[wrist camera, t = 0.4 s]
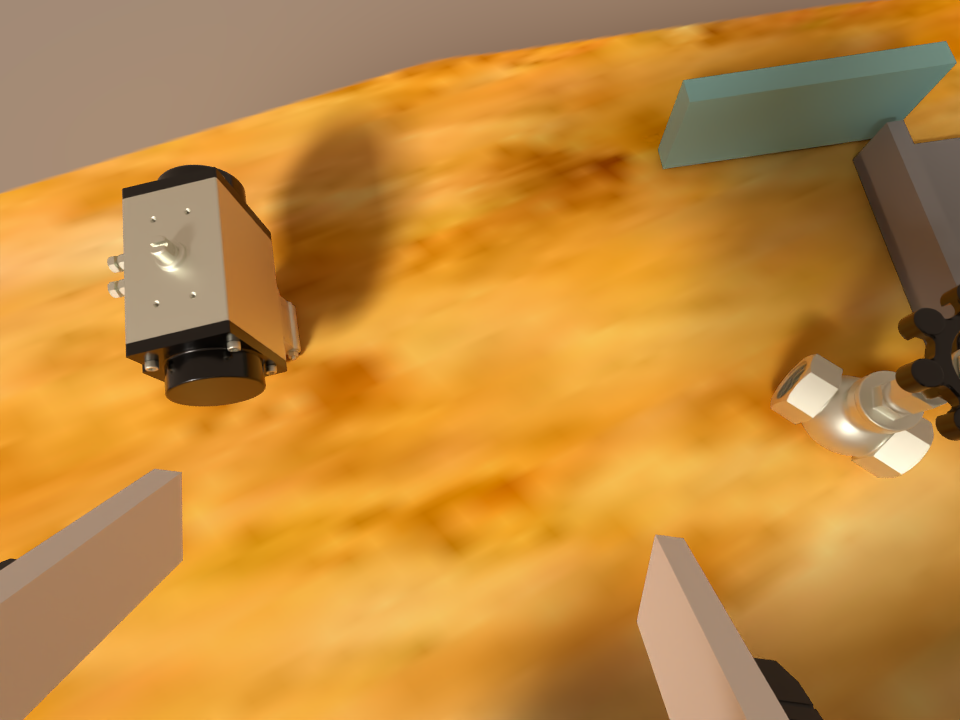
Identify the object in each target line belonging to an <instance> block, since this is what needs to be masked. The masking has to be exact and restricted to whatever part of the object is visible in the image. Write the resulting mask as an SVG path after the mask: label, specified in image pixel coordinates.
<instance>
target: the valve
mask: <svg viewBox="0 0 960 720" xmlns="http://www.w3.org/2000/svg"><path fill="white" fill-rule="evenodd" d="M940 305H941V306H942V307H943V306H947V305H952V306H953V307H954V310H955V314H954V315H953V316H952V317H950V318H948V319H945V318H944V317H943V315H942V314H941V313H940V312H938V311H937V310H935V309H932V308H921V309H919V310H917V311H915V312H913V313H911V314H910V315H908V316H906V317H904V318H902V319H901V320H900V322H899V324H898V330H899V333H900V334H901V336H902V337H903V338H904V339H906V340H910V339H912V338H914V337H917V338H920V339H923V340H925V341H926V342H927V344H926V349H925V359H918V360H916V361H913V362H911V363H909V364H906V365H904V366H902V367H900V368H899V369H898V370H897V371H896V372H892V371H878V372H874V373H871V374H869V375H867V376H865V377H862V378H858V377H854V376H847V375H842V372H843V369H841V368H840V367H838V366H836V365H835V364H833V363H831V362H830V361H828V360H827V359H825V358H823V357H822V356H820V355H818V354H813V355H810V356H807V357H805V358H804V359H803V360H801V361H800V362H799V363H798V364H797V365H796V366H795V367H794V368H793V369H792V370H791V371H790V372H789V373H788V374H787V375H786V376H785V378H784V379H783V380H782V382H781V383H780V384H779V386H778V387H777V389H776V391H775V392H774V394H773V396H772V399H771V409H772V410H774V411H775V412H777V413H778V414H780V415H781V416H783V417H784V418H786V419H788V420H789V421H791V422H792V423H794V424H798V423H801V422H802V424H803V426H804V428H805V430H806V431H807V433H808V434H809V435H810V436H811V438H812V439H813V440H815V441H816V442H817V443H818V444H820V445H821V446H823V447H825V448H826V449H828V450H830V451H833V452H835V453H838V454H842V455H848V456H852V460H851V461H853V462H854V463H856V464H857V465H859V466H861V467H862V468H864V469H865V470H867V471H868V472H870V473H871V474H873V475H875V476H876V477H878V478H894V477H898V476H900V475H902V474H904V473H905V472H907V471H909V470H910V469H911V468H913V467H914V466H915V465H916V464H917V463H918V462H919V461H920V460H921V459H922V458H923V457H924V455H925V454H926V453H927V451H928V450H929V448H930V446H931V444H932V441H933V436H934V434H933V427H932V424H931V422H929V421H928V420H926V419H924V418H923V417H922V416H923V414H924V411H926V410H929V409H933V408H935V407H938V406H940V405H943V404H945V403H947V402H948V403H949V404H950V405H951V406H952V408H951V410H950V411H948V412H947V414H944V415H941V416H937V418H936V427H937V430H938V431H939V433H940V434H941V435H942V436H944V437H945V438H947V439H949V440H954V441H958V440H960V285H958V286H956V287H954V288H952V289H950V290H949V291H947V292H945V293H944V294H943V295H942V296H941V298H940Z"/></svg>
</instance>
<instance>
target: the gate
mask: <svg viewBox="0 0 960 720" xmlns="http://www.w3.org/2000/svg"><path fill="white" fill-rule="evenodd" d="M956 63H957V62H956V60H955V58H954V56H953V54H952V52H951V50H950V48H949V46H948V44H947V42H946V41H944V42H937V43H930V44H923V45H917V46H910V47H903V48H897V49H890V50H883V51H877V52H870V53H863V54H856V55H850V56H843V57H836V58H830V59H823V60H816V61H810V62H803V63H796V64H789V65H783V66H776V67H769V68H763V69H756V70H749V71H742V72H736V73H729V74H722V75H716V76H709V77H702V78H696V79H689V80H683V83H682V85H681V88H680V91H679V94H678V96H677V99H676V102H675V104H674V107H673V110H672V113H671V115H670V118H669V121H668V123H667V126H666V129H665V132H664V134H663V137H662V140H661V143H660V145H659V148H658V152H659V155H660V159H661V163H662V167H663V169H666V168H673V167H680V166H687V165H694V164H701V163H708V162H715V161H722V160H729V159H736V158H743V157H749V156H756V155H763V154H770V153H777V152H784V151H791V150H798V149H805V148H812V147H819V146H826V145H833V144H840V143H846V142H853V141H860V140H867V139H872V138H873V137H874V136H875V135H876V134H877V133H878V131H879V130H880V129H881V128H882V127H883V126H884V125H885V124H886V123H887V122H893V121H900V120H903V119H904V118H905V117H906V116H907V115H908V114H909V113H910V112H911V111H912V110H913V109H914V108H915V107H916V106H917V105H918V103H919V102H920V101H921V100H922V99H923V98H924V97H925V96H926V95H927V94H928V93H929V92H930V91H931V90H932V89H933V88H934V87H935V85H936V84H937V83H938V82H939V81H940V80H941V79H942V78H943V77H944V76H945V75H946V74H947V73H948V72H949V71H950V70H951V68H952V67H953V66H954V65H955V64H956Z"/></svg>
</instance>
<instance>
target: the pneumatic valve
mask: <svg viewBox="0 0 960 720" xmlns="http://www.w3.org/2000/svg"><path fill="white" fill-rule="evenodd" d="M122 199H123V243H124V254H121V255H119V256H113V257H109V258H108V261H107V262H108V266H109V268H110V270H111V271H112V272H114V273H118V272H123V271H124V279H122V280H119V281H114V282H110V283H109V284H108V291H109V293H110V294H111V296H112V297H114V298H119V297H123V296H125V332H126V357H127V358H129V359H131V360H133V361H136V362H138V363H140V364H142V367H143V373H144V374H146V375H149V376H151V377H154V378H156V379H159V380H161V381H164V382H165V395H166V397H167V398H168V399H169V400H170V401H172V402H175V403H178V404H182V405H189V406H219V405H227V404H233V403H238V402H242V401H245V400H248V399H251V398H254V397H256V396H258V395H259V394H261V393H262V392H263V391H264V390H265V387H266V384H265V376H269V375H274V374H278V373H282V372H286V371H287V366H286V355H288V358H290V359H291V360H296V358H298V353H300V352H301V347H300V339H299V332H298V324H297V316H296V309H295V306H294V305H292V302H289V301H286V300H285V299H284V298H283V297H281V296H280V292H279V290H278V287H277V283H276V274H275V266H274V258H273V249H272V241H271V233H270V231H269V230H268V229H267V228H266V226H265V225H264V224H263V223H262V222H261V221H260V219H259V218H258V217H257V216H256V215H255V213H254V212H253V211H252V210H251V209H250V207H249V206H248V205H247V204H246V196H245V190H244V188H243V186H242V184H241V183H240V182H239V181H238V180H237V179H236V178H235V177H234V176H232V175H231V174H229V173H227V172H225V171H223V170H220V169H217V168H215V167H210V166H204V165H184V166H179V167H175V168H172V169H170V170H168V171H166V172H165V173H163V174H162V175H161V176H160V177H159V179H158V180H157V181H153V182H149V183H144V184H140V185H136V186H132V187H127V188H123V189H122Z"/></svg>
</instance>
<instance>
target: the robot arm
mask: <svg viewBox="0 0 960 720" xmlns="http://www.w3.org/2000/svg"><path fill="white" fill-rule="evenodd" d="M182 560H183V549H182V472H175V471H167V470H159V469H154V470H152V471H150V472H149V473H147V474H146V475H144V476H143V477H141V478H140V479H138V480H137V481H135V482H134V483H132V484H131V485H129V486H128V487H126V488H125V489H123V490H122V491H120V492H119V493H117V494H116V495H114V496H113V497H111V498H110V499H108V500H106V501H105V502H103V503H102V504H100V505H99V506H97V507H96V508H94V509H93V510H91V511H90V512H88V513H87V514H85V515H84V516H82V517H81V518H79V519H78V520H76V521H75V522H73V523H72V524H70V525H69V526H67V527H65V528H64V529H62V530H61V531H59V532H58V533H56V534H55V535H53V536H52V537H50V538H49V539H47V540H46V541H44V542H43V543H41V544H40V545H38V546H37V547H35V548H34V549H32V550H31V551H29V552H28V553H26V554H25V555H23V556H21V557H20V558H18V559H8V560H6V561H3V562H1V563H0V720H23V719H24V718H25V717H26V716H27V715H28V714H29V713H30V712H31V711H32V710H33V709H34V708H35V707H36V706H37V705H38V704H39V703H40V702H41V701H42V700H43V699H44V698H45V697H46V696H47V695H48V694H49V693H50V692H51V691H52V690H53V689H54V688H55V687H56V686H57V685H58V684H59V683H60V682H61V681H62V680H63V679H64V678H65V677H66V676H67V675H68V674H69V673H70V672H71V671H72V670H73V669H74V668H75V667H76V666H77V665H78V664H79V663H80V662H81V661H82V660H83V659H84V658H85V657H86V656H87V655H88V654H89V653H90V652H91V651H92V650H93V649H94V648H95V647H96V646H97V645H98V644H99V643H100V642H101V641H102V640H103V639H104V638H105V637H106V636H107V635H108V634H109V633H110V632H111V631H112V630H113V629H114V628H115V627H116V626H117V625H118V624H119V623H120V622H121V621H122V620H123V619H124V618H125V617H126V616H127V615H128V614H129V613H130V612H131V611H132V610H133V609H134V608H135V607H136V606H137V605H138V604H139V603H140V602H141V601H142V600H143V599H144V598H145V597H146V596H147V595H148V594H149V593H150V592H151V591H152V590H153V589H154V588H155V587H156V586H157V585H158V584H159V583H160V582H161V581H162V580H163V579H164V578H165V577H166V576H167V575H168V574H169V573H170V572H171V571H172V570H173V569H174V568H175V567H176V566H177V565H178V564H179V563H180V562H181V561H182ZM637 624H638V627H639V630H640V633H641V636H642V639H643V642H644V645H645V648H646V651H647V654H648V657H649V660H650V663H651V666H652V669H653V671H654V674H655V677H656V680H657V683H658V686H659V689H660V692H661V695H662V698H663V701H664V704H665V707H666V710H667V713H668V716H669V719H670V720H823V719H822V717H821V716H820V714H819V713H818V711H817V710H816V709H814V708H813V704H812V702H811V701H810V699H809V698H808V696H807V695H806V693H805V691H804V690H803V688H802V687H801V685H800V684H799V682H798V681H797V680H796V679H795V678H794V677H793V676H791V675H790V674H789V673H788V672H787V671H786V670H785V669H784V668H783V667H782V666H781V665H780V664H778V663H777V662H776V661H773V660H765V659H758V658H753V657H752V655H751V653H750V652H749V650H748V648H747V646H746V645H745V643H744V641H743V640H742V638H741V636H740V634H739V633H738V631H737V629H736V628H735V626H734V624H733V622H732V621H731V619H730V617H729V616H728V614H727V612H726V610H725V609H724V607H723V605H722V604H721V602H720V600H719V598H718V597H717V595H716V593H715V592H714V590H713V588H712V586H711V585H710V583H709V581H708V580H707V578H706V576H705V574H704V573H703V571H702V569H701V568H700V566H699V564H698V562H697V561H696V559H695V557H694V556H693V554H692V552H691V550H690V549H689V547H688V545H687V544H686V542H685V540H684V538H677V537H669V536H662V535H655V538H654V543H653V548H652V552H651V557H650V562H649V566H648V571H647V576H646V580H645V585H644V590H643V594H642V599H641V604H640V608H639V613H638V618H637Z"/></svg>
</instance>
